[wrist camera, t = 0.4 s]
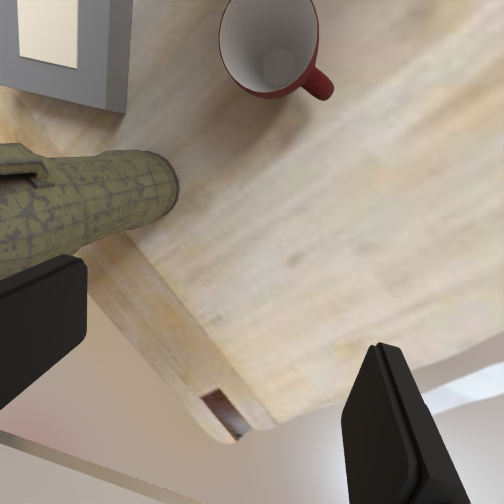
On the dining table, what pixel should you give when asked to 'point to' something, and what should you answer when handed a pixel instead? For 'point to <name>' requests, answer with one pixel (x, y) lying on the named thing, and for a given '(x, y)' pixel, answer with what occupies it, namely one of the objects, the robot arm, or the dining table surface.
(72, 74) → the slate pedestal
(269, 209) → the dining table surface
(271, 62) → the mug
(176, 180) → the thermos
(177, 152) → the dining table surface
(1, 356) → the robot arm
